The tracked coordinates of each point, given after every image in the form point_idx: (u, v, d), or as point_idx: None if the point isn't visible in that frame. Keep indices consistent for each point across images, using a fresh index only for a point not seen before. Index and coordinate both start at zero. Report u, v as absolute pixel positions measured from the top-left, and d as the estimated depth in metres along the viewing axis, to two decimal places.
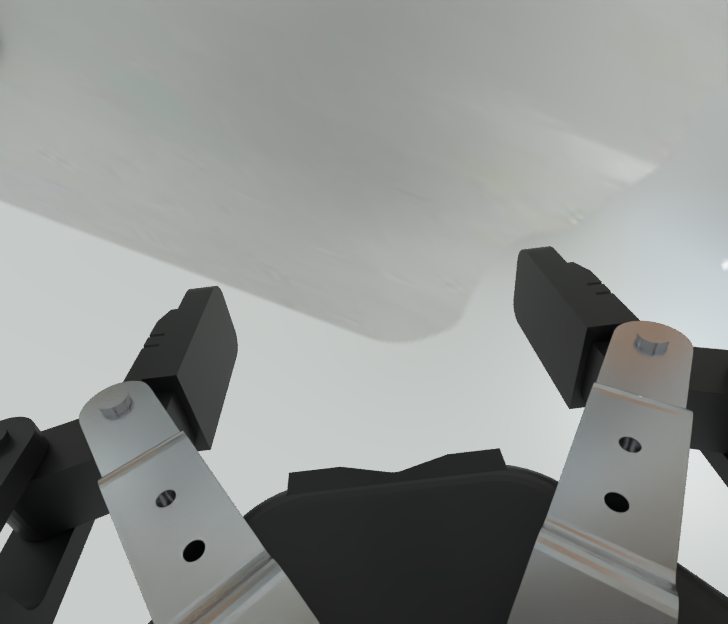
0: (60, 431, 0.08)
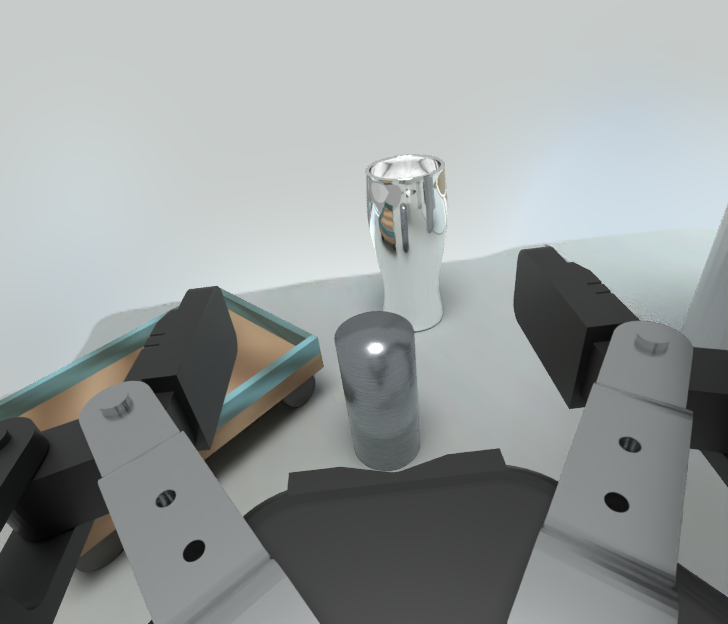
0: (60, 432, 0.08)
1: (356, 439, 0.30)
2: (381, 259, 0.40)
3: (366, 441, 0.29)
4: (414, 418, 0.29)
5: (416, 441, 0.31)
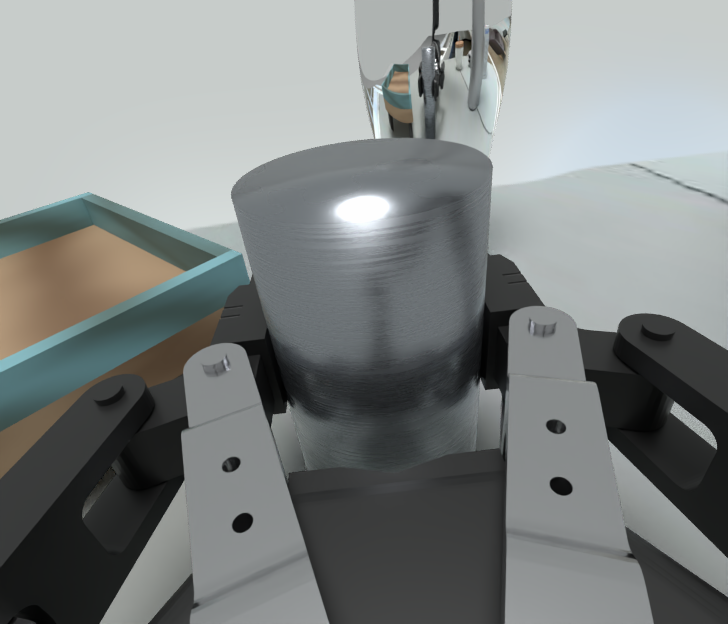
0: (161, 389, 0.09)
1: None
2: (383, 133, 0.21)
3: None
4: (471, 438, 0.11)
5: None
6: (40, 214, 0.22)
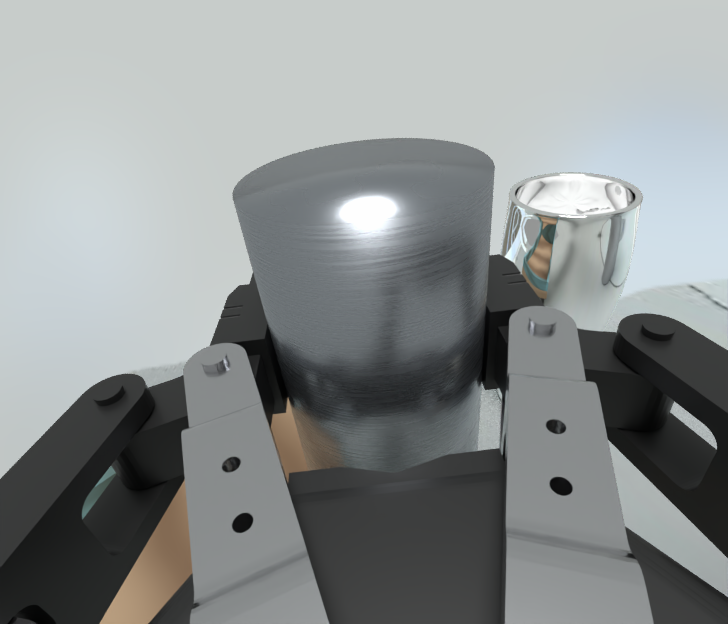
0: (161, 389, 0.09)
1: None
2: None
3: None
4: (473, 439, 0.11)
5: None
6: None
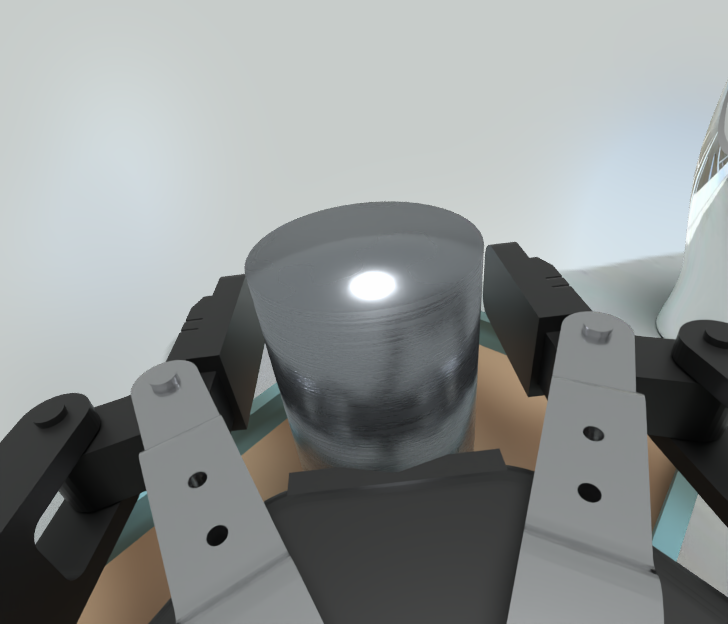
0: (110, 408, 0.09)
1: None
2: None
3: None
4: None
5: None
6: None
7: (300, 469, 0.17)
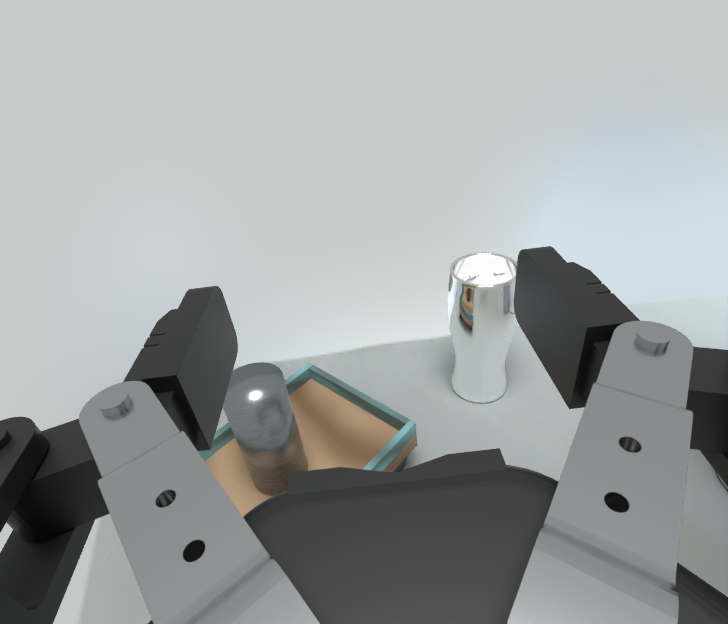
0: (60, 432, 0.08)
1: (247, 467, 0.36)
2: (459, 343, 0.45)
3: (251, 470, 0.35)
4: (291, 452, 0.35)
5: (298, 471, 0.36)
6: (294, 379, 0.46)
7: None
